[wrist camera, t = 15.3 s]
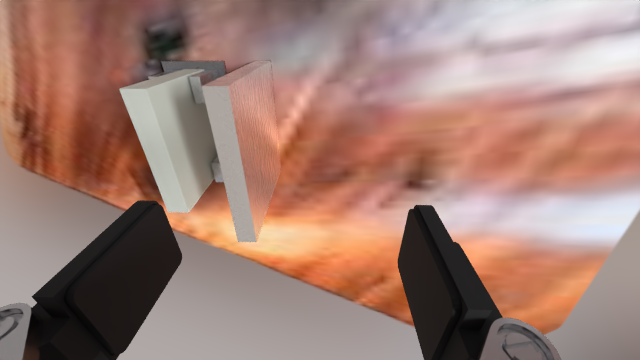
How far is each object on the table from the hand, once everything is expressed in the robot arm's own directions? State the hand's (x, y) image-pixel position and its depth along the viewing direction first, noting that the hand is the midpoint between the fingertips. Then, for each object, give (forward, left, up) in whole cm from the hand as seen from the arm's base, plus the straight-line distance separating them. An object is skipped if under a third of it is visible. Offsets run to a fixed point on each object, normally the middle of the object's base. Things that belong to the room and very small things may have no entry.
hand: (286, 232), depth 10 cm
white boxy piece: (+5, -13, -28) cm, 32 cm away
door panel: (+5, -16, -28) cm, 32 cm away
